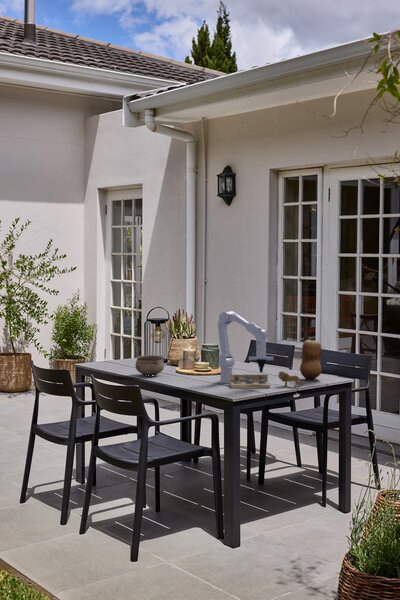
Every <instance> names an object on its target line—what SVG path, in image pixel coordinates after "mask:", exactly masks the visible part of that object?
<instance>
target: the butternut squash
mask: <svg viewBox="0 0 400 600" xmlns="http://www.w3.org/2000/svg"><path fill="white" fill-rule="evenodd" d="M301 348H302V349H301V363H300V366H299V371H300V375H301V376H303V378H304V379H306V381H309V380H310V381H311V380H315V379H317V378H319V376H320V375H321V373H322V366H321V361H320V360H321V353H322V344H321V342H320V341H319V340H313V339H307V340H304V341H303V344H302V347H301Z"/></svg>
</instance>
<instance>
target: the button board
mask: <svg viewBox="0 0 400 600" xmlns="http://www.w3.org/2000/svg"><path fill="white" fill-rule="evenodd" d="M268 377H269V376H268V374H232V375H230V383H229V387H230V388H231V389H271V384H270V382H269V380H268ZM261 379H263V380H265V383H259V380H261ZM247 380H253V383H252V384H247ZM236 381H238V382H240V384H234V382H236Z"/></svg>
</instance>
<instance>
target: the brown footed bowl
mask: <svg viewBox="0 0 400 600" xmlns="http://www.w3.org/2000/svg"><path fill="white" fill-rule="evenodd" d="M163 358H164V355H163V356H162V355H154V354H153V355H152V354H149V355H147V354H146V355H138V356H136V362H135V369H136V370H137V372H138V373H140V374H142V375H143V376H145V375H147V376H146V377H153V376H152V375H155V376H157V375H159V374H160V373H162V372H163V370H164V368H165V362H164V359H163ZM148 375H149V376H148Z"/></svg>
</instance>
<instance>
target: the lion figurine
mask: <svg viewBox="0 0 400 600" xmlns="http://www.w3.org/2000/svg"><path fill="white" fill-rule="evenodd" d="M278 379H279V380H281V381H282V382H284V384H283V385H284V387H287V386H288V382H289V383H292V382H294V383H295V385H294V387H297V388H300V387H301V386H302V387H304V385H303V384H302V383H301V380H300V377H299V376H298V375H295V374H294V375H289V373H286V372H285V371H282V370H281V371H279V372H278Z"/></svg>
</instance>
